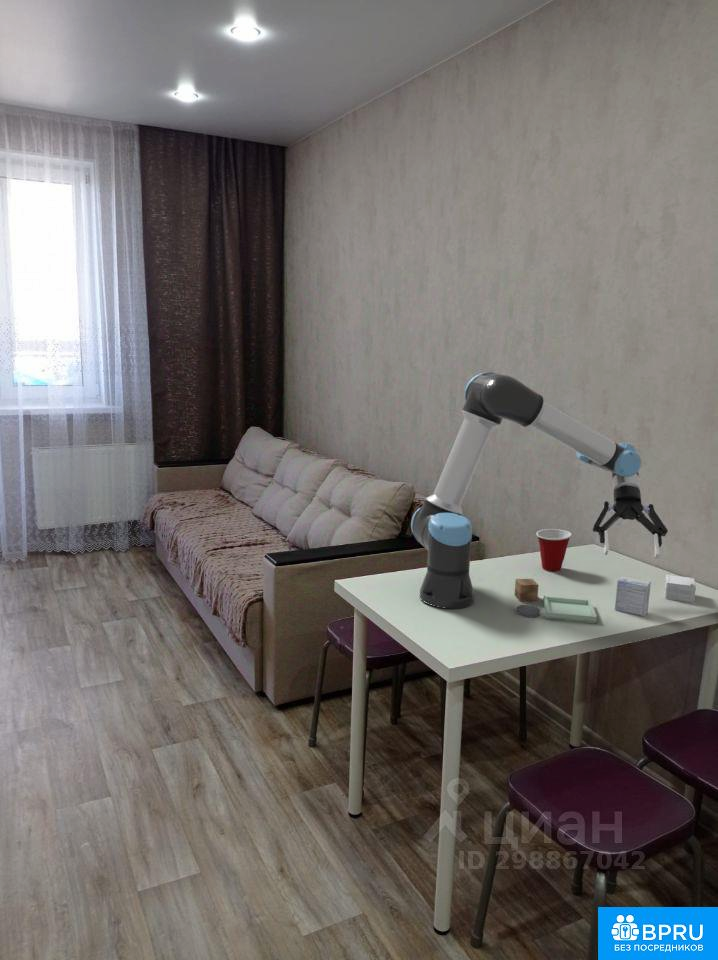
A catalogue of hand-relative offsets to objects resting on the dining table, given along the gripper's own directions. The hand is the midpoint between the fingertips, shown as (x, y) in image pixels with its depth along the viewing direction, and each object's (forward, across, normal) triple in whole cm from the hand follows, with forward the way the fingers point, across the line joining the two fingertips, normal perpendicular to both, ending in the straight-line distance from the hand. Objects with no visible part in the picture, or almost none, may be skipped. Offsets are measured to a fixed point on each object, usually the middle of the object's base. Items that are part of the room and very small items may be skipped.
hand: (631, 554), depth 204 cm
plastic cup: (-6, +19, -25) cm, 32 cm away
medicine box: (+16, +1, -3) cm, 16 cm away
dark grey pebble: (+22, +29, +3) cm, 36 cm away
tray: (+19, +18, +1) cm, 26 cm away
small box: (+6, -16, -14) cm, 21 cm away
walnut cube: (+14, +29, -5) cm, 32 cm away
